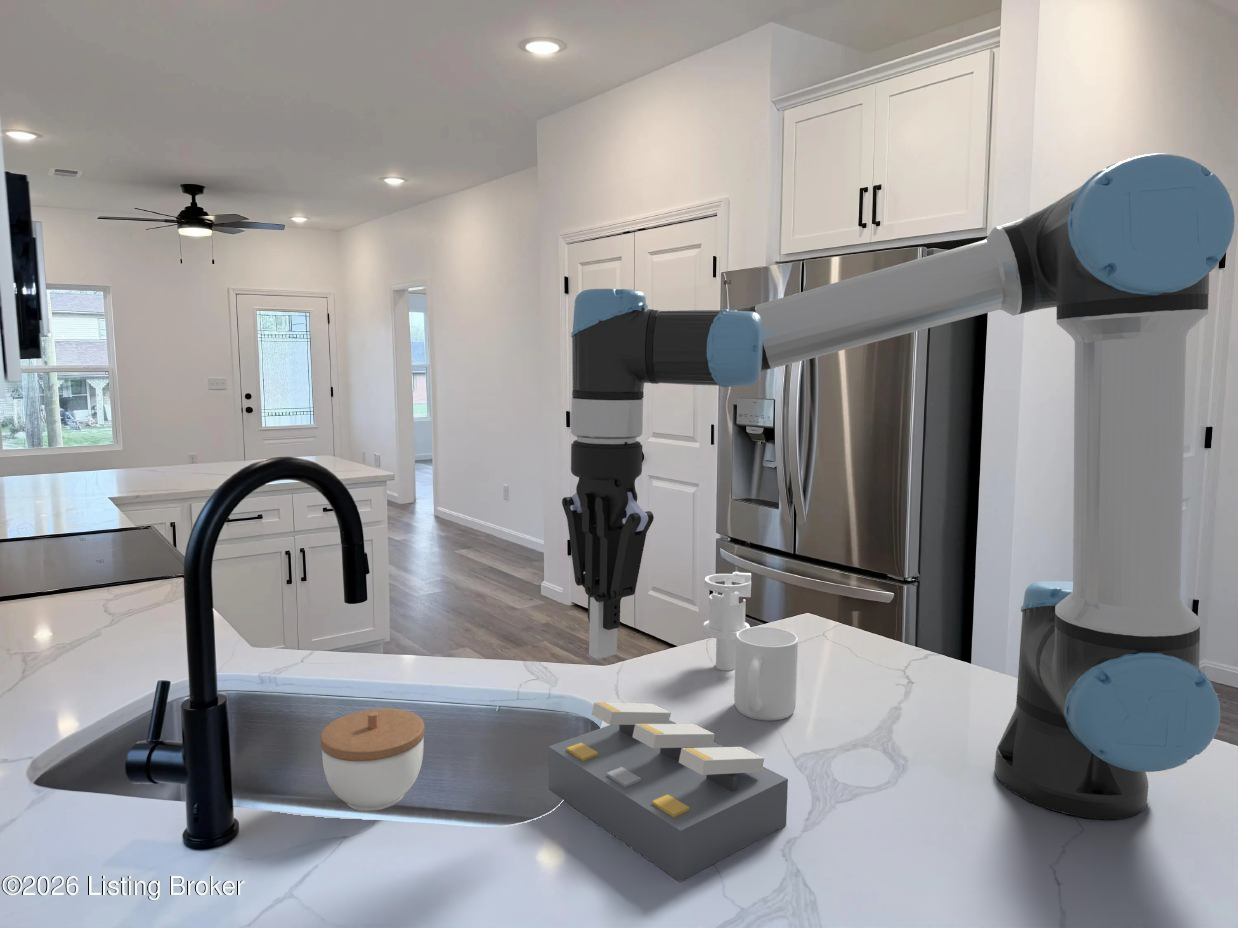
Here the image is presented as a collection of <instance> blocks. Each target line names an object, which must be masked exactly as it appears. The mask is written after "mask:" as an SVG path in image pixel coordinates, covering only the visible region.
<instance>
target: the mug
mask: <svg viewBox="0 0 1238 928" xmlns="http://www.w3.org/2000/svg"><path fill="white" fill-rule="evenodd" d="M798 650H799V638H798V635H796V633H794V632H792V631H790V630H786V629H784V628H779V627H771V626H752V627H751V626H750V628H745V629H742V630H740V631H738V632H737V633H736V650H735V669H734V695H733V697H734V698H733V699H734V706H735V709H736V710H737V711H738V712H739V713H740V715H741V714H742V715H743V716H745V717H747V718H750V719H754V720H757V721H765V722H766V721H769V722H772V721H774V722H775V721H782V720H784V719H787V718H789V717H790V716H792V715H793V713H794V712H795V710H796V704H797V680H798V679H797V677H798V658H799V657H798V655H799V654H798V653H799V652H798Z"/></svg>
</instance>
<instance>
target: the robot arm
mask: <svg viewBox="0 0 1238 928" xmlns="http://www.w3.org/2000/svg"><path fill="white" fill-rule="evenodd" d="M1235 217H1236V215H1235V210H1234V205H1233V201H1232V197H1231V196H1230V193H1229V191H1228V189H1227V188H1226V186H1225V185H1224V183H1223V182H1222V181H1221V179H1220V178H1219V176H1217V175H1216V174H1215V173H1214V172H1212V171H1210V170H1209V169H1208V168H1207V167H1205V166H1204V165H1202V163H1200V162H1199V161H1196V160H1193V159H1191V158H1188V157H1184V156H1181V155H1178V154H1171V153H1150V154H1143V155H1138V156H1134V157H1132V158H1131V157H1130V158H1127V159H1126V160H1123V161H1119V162H1115V163H1113V164H1111V165H1108V166H1106V167H1104V168H1102V169H1101V170H1099V171H1097V172H1096V173H1095V174H1093V175H1092V176H1091V177H1089V178H1088V179H1087V180H1086V181H1085V182H1084V183H1083V184H1082V185H1080V186H1079V187H1077V188H1075V189H1074V190H1072V191H1071V192H1069V193H1068V194H1066V195H1065V196H1063V197H1061V198H1060V199H1058V200H1056V201H1055V202H1053V203H1051V204H1049V205H1047V206H1046V207H1043V208H1042V209H1041V210H1038V211H1036V212H1034V213H1031V214H1029V215H1027V216H1025V217H1022V218H1019V219H1017V220H1015V221H1011V222H1008V223H1005V224H1001V225H998V226H994V227H992V229H991V231H989V234H988V235H987V237H986V238H985V239H983V240H979V241H977V242H973V243H970V244H965V245H963V246H959V247H956V248H952V249H948V250H945V251H941V252H937V253H933V254H931V255H928V256H924V257H920V258H917V259H913V260H910V261H906V262H902V263H899V264H896V265H891V266H889V267H885V268H881V269H878V270H875V271H872V272H867V273H865V274H861V275H857V276H853V277H851V278H846V279H844V280H843V279H842V280H840V281H839V280H838V281H836V282H833V283H832V282H831V283H829V284H826V285H822V286H818V287H816V288H815V287H814V288H812V289H811V288H810V289H809V290H805V291H802V292H797V293H794V294H790V295H787V296H783V297H781V298H776V299H772V300H769V301H766V302H763V303H760V304H759V303H758V304H755V305H752V306H749V307H744V308H740V309H737V310H736V309H731V308H727V309H722V310H721V309H717V310H716V309H715V310H713V309H709V310H708V309H707V310H703V309H702V310H701V309H700V310H699V309H697V310H696V309H695V310H661V309H650V308H648V305H647V301H646V300H647V297H646V295H645V293H644V292H643V291H641V290H637V289H629V288H628V289H627V288H626V289H625V288H621V289H619V288H616V289H615V288H589V289H584V290H582V291H580V292H579V293H578V294H577V295H576V297H575V299H574V307H573V320H572V332H571V333H570V334H571V335H570V337H571V341H572V342H571V343H572V344H571V345H572V346H571V347H572V349H571V351H572V354H571V355H572V357H571V360H572V362H571V365H572V372H571V373H572V376H571V377H572V393H571V405H570V406H571V413H570V414H571V417H570V434H571V435H573V436H574V437H576V439H575V440H573V442H572V443H571V444H570V448H571V449H570V472H571V473H572V475H573V476H575V477H576V478H578V481H577V484H576V487H575V489H576V490H575V491H576V492H575V493H574V494H573V495H572V496H564V497H563V498H562V499H561V505H562V507H563V510H564V514H565V516H566V521H567V528H568V536H569V543H570V545H569V546H570V551H571V559H572V567H573V575H574V576H573V577H574V581H575V582H574V583H575V584H576V585H577V586H581V587H583V588H584V593H585V594H586V595H587V598H588V599H587V620H588V623H589V637H588V638H589V642H588V643H589V645H588V649H589V650H588V656H589V657H592V658H594V659H596V660H600V659H605V658H608V657H611V656H615V655H618V629H619V628H620V624H621V602H622V601H621V600H622V599H623V598H625V597H630V596H635V593H636V589H637V584H638V579H639V574H640V569H641V564H642V559H643V553H644V547H645V543H646V538H647V533H648V531H649V530H650V527H651V526H652V523H653V522H654V520H655V519H654V518H655V517H654V514H653V512H652V511H650V510H649V511H644V510H643V508H641V506H640V505H639V504H638V503H637V502H638V492H637V490H636V486H635V485H636V484H635V482H636V480H637V478H638V477H640V476H641V475H642V472H643V444H642V443H641V441H639V440H637V439H638V438H640V437H641V436H643V428H644V427H643V423H644V422H643V418H644V417H643V416H644V390H645V389H644V388H645V384H653V385H655V384H656V385H657V384H658V385H659V384H669V385H689V386H720V387H721V388H728V387H729V388H730V387H731V388H732V387H735V386H736V387H739V386H740V387H744V386H754V384H756V383H757V382H758V381H759V380H760V379H761V373H762V372H766V371H767V370H773V369H776V368H780V367H783V366H786V365H787V366H788V365H791V364H794V363H799V362H803V361H806V360H810V359H814V358H817V357H822V356H825V355H830V354H834V353H837V352H841V351H844V350H849V349H853V348H857V347H860V346H864V345H868V344H872V343H875V342H880V341H883V340H889V339H891V338H895V337H899V336H902V335H907V334H910V333H915V332H919V331H923V330H925V329H930V328H933V327H938V326H942V325H946V324H948V323H952V322H953V323H954V322H958V321H961V320H964V319H969V318H973V317H976V316H977V317H978V316H980V315H984V314H987V313H992V312H995V311H1003V312H1005V313H1007V314H1009V315H1011V316H1017V315H1020V314H1026V313H1029V312H1033V311H1034V312H1035V311H1038V310H1042V309H1051V308H1056V324H1057V325H1058V326H1059V327H1060V328H1061V329H1063V331H1065V332H1066V334H1068V335H1069V336H1070V337H1071V338H1072V340H1073V341H1074V395H1073V397H1074V400H1073V401H1074V403H1073V404H1074V405H1073V408H1074V409H1073V410H1074V411H1073V413H1074V415H1073V417H1074V419H1073V516H1072V517H1073V525H1072V526H1073V527H1072V528H1073V530H1072V531H1073V537H1072V538H1073V539H1072V542H1073V543H1072V544H1073V545H1072V547H1073V549H1072V555H1073V556H1072V581H1070V580H1069V581H1068V580H1067V581H1066V580H1065V581H1064V580H1045V581H1044V580H1041V581H1035V582H1032V583H1031V584H1029V585H1028V586H1027V587H1026V589H1025V591H1024V596H1023V603H1022V605H1021V607H1020V611H1021V613H1022V614H1021V629H1020V643H1019V658H1018V669H1017V670H1018V674H1017V685H1016V686H1017V688H1016V689H1017V691H1016V700H1015V701H1016V702H1015V703H1016V704H1015V709H1014V711H1013V712H1012V713H1013V714H1012V715H1011V717H1010V720H1009V722H1008V724H1007V725H1006V727H1005V730H1004V733H1003V734H1002V737H1001V739H1000V740H999V743H998V745H997V747H996V751H995V759H994V760H995V761H994V772H995V775H996V777H997V778H998V780H999V781H1000V782H1001V784H1003V786H1005V787H1006V788H1008V790H1010V791H1011V792H1013V793H1014V794H1016V795H1018V796H1019V797H1021V798H1023V799H1024V800H1026V801H1029V802H1030V803H1033V804H1036V805H1038V806H1040V807H1043V808H1046V809H1049V810H1051V811H1055V812H1057V813H1058V812H1059V813H1062V814H1064V815H1065V814H1066V815H1070V816H1075V817H1081V818H1087V819H1088V818H1089V819H1095V820H1096V819H1099V820H1117V819H1125V818H1129V817H1133V816H1135V815H1138V814H1140V813H1141V812H1143V810H1145V809H1146V806H1147V803H1148V795H1149V794H1148V793H1149V779H1148V775H1147V773H1152V772H1162V771H1163V772H1164V771H1168V770H1170V769H1171V770H1172V769H1175V768H1177V767H1180V766H1182V765H1185V764H1186V763H1188V761H1189V760H1191V759H1193V758H1194V757H1195V756H1198V755H1200V754H1201V753H1203V752H1204V751H1205V750H1206V749H1207V748H1208V746H1210V744H1211V742H1212V741H1213V739H1214V738H1215V736H1216V734H1217V732H1218V729H1219V726H1220V722H1221V704H1220V701H1219V700H1220V699H1219V697H1218V694H1217V693H1216V690H1215V689H1214V685H1213V683H1212V682H1211V680H1210V679H1209V677H1207V675H1206V674H1205V673H1204V672H1203V671H1202V670H1201V669H1200V657H1201V656H1200V654H1201V653H1200V650H1201V649H1200V648H1201V620H1200V618H1199V616H1198V615H1197V614H1196V613H1194V611H1192V610H1191V609H1190V607H1188V606H1187V605H1186V604H1185V603H1184V602H1183V601H1182V599H1181V588H1182V587H1181V585H1182V584H1181V583H1182V581H1181V580H1182V579H1181V578H1182V541H1183V540H1182V536H1183V499H1184V498H1183V491H1184V488H1183V487H1184V452H1185V451H1184V450H1185V449H1184V447H1185V443H1184V442H1185V411H1186V410H1185V407H1186V406H1185V405H1186V404H1185V403H1186V398H1185V397H1186V363H1187V357H1186V356H1187V336H1188V334H1189V332H1190V330H1191V329H1193V328H1194V327H1195V326H1196V325H1197V324H1199V322H1201V320H1202V319H1204V318H1205V317H1206V316H1207V315H1208V314H1209V294H1210V272H1212V271H1213V270H1214V269H1215V268H1216V267H1217V266H1218V264H1219V262H1220V261H1221V260H1222V258H1223V257H1224V256H1225V255H1226V253H1227V250H1228V249H1229V246H1230V244H1231V242H1232V238H1233V234H1234V231H1235Z"/></svg>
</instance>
